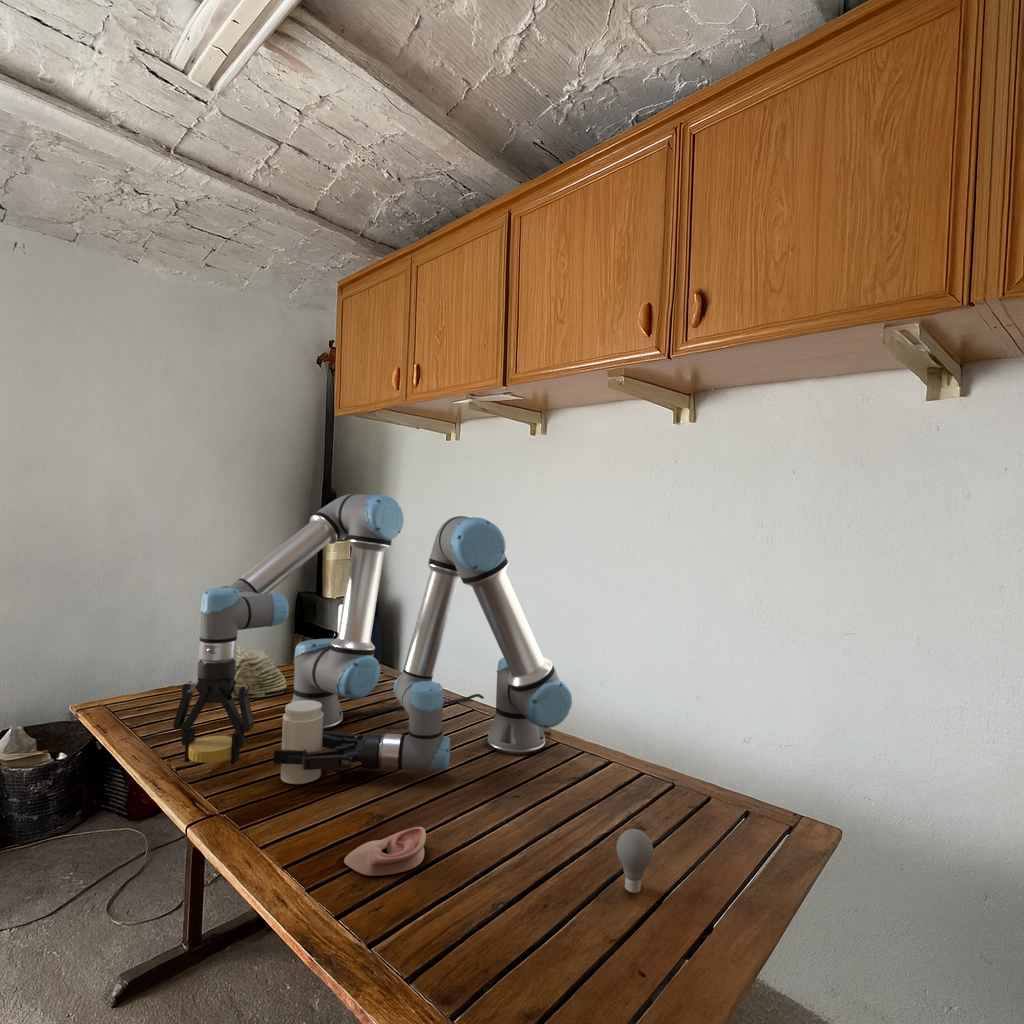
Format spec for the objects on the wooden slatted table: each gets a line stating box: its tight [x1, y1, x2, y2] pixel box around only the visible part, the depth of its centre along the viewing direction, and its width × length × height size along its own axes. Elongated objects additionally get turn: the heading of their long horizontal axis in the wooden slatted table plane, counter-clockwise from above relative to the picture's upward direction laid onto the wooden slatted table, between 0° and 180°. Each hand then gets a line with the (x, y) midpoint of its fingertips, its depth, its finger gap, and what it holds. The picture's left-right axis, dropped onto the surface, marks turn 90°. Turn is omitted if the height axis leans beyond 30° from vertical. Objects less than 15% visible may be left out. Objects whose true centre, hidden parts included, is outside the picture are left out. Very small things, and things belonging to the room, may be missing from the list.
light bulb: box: [615, 828, 654, 894], centre depth 106 cm, size 6×6×10 cm
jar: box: [280, 700, 324, 785], centre depth 143 cm, size 9×9×16 cm
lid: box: [188, 735, 232, 764], centre depth 139 cm, size 9×9×2 cm
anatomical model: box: [343, 826, 427, 877], centre depth 112 cm, size 13×4×12 cm
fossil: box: [231, 646, 288, 699], centre depth 198 cm, size 9×18×15 cm, turn 132°
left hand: (212, 760), depth 139 cm, fingers closed on lid, 9 cm apart
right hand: (281, 748), depth 143 cm, fingers closed on jar, 9 cm apart
